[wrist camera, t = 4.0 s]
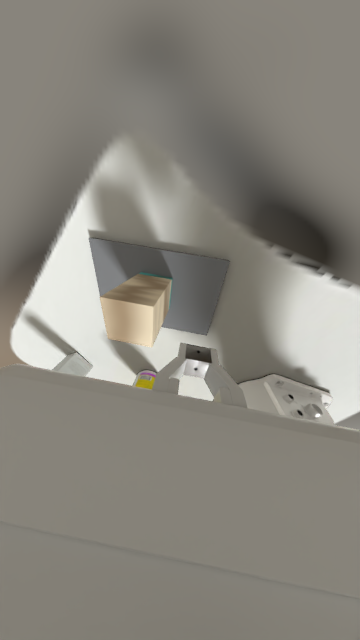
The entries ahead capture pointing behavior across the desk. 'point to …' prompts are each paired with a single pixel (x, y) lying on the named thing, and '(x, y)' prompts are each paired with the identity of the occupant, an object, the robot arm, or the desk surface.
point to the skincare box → (74, 365)
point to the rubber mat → (186, 270)
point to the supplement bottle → (145, 379)
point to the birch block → (137, 308)
